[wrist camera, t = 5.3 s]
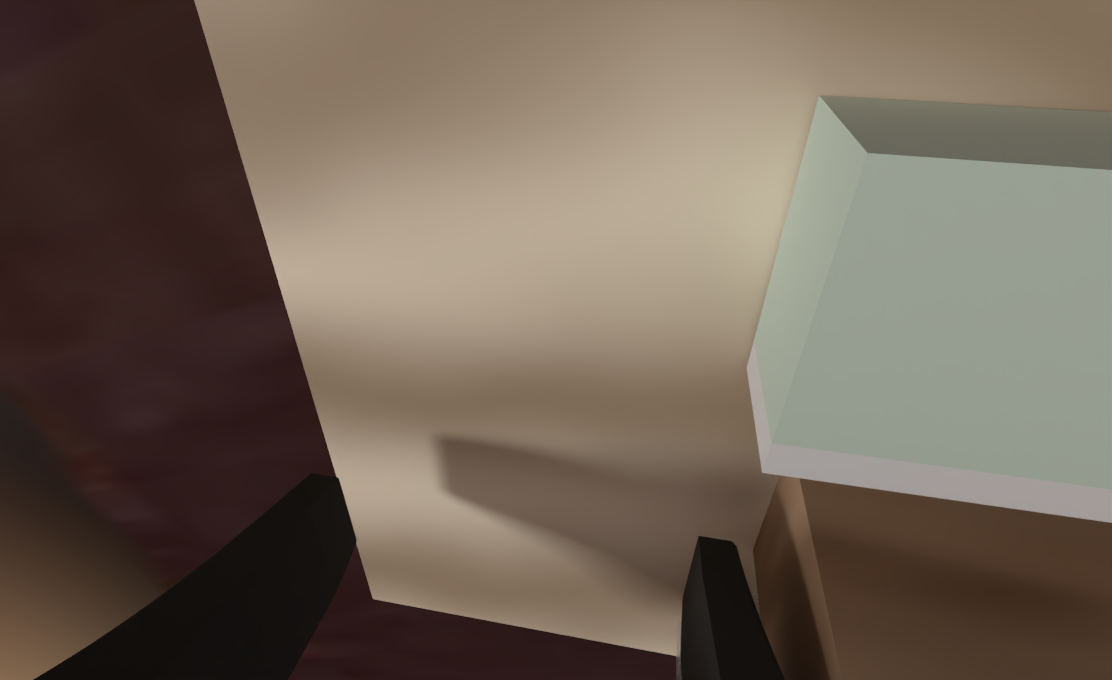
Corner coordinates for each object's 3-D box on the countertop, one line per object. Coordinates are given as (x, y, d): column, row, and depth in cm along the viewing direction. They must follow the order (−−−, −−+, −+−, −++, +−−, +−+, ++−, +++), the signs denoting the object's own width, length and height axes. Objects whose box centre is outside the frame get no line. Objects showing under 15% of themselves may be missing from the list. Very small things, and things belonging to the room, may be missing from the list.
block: (1089, 604, 12) (1286, 928, 8) (752, 549, 13) (783, 817, 9) (1198, 496, 10) (1528, 857, 6) (791, 441, 11) (851, 724, 7)
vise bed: (1156, 708, 16) (1182, 751, 15) (386, 569, 18) (373, 599, 18) (2142, 3, 6) (2366, 15, 5) (225, -52, 9) (179, -50, 8)
